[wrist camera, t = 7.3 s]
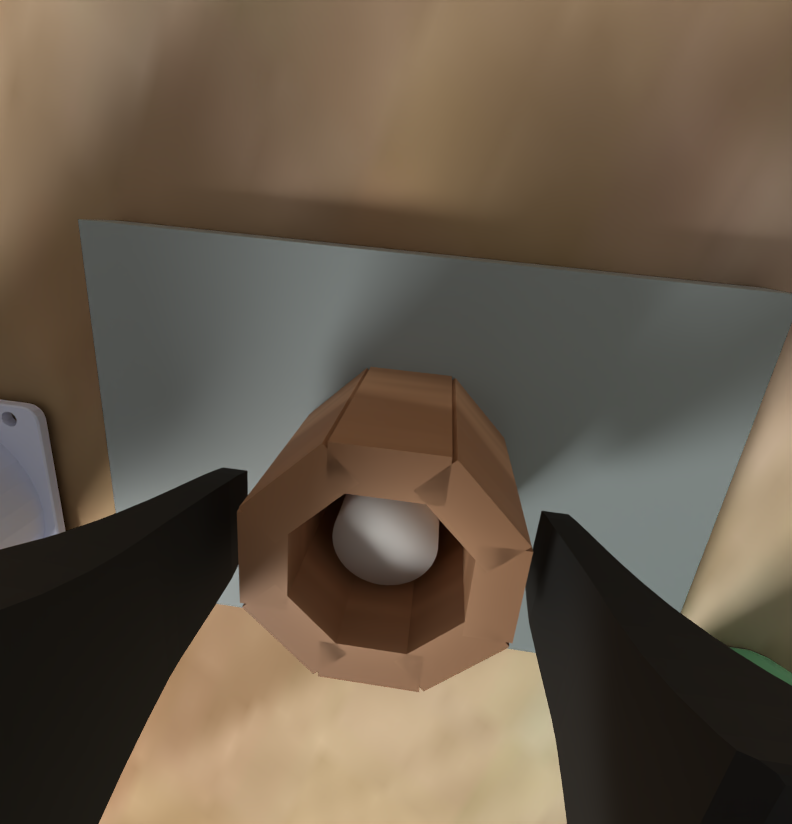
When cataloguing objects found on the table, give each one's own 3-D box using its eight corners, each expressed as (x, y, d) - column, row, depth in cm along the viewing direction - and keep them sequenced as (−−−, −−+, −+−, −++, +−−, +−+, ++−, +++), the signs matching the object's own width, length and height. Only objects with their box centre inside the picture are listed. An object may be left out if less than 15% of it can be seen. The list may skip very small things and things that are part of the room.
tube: (305, 532, 15) (241, 663, 11) (309, 359, 13) (233, 430, 9) (483, 557, 15) (498, 704, 10) (515, 383, 13) (551, 469, 8)
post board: (150, 562, 18) (49, 675, 14) (114, 220, 14) (-50, 216, 9) (641, 635, 17) (711, 786, 13) (764, 288, 13) (939, 321, 8)
